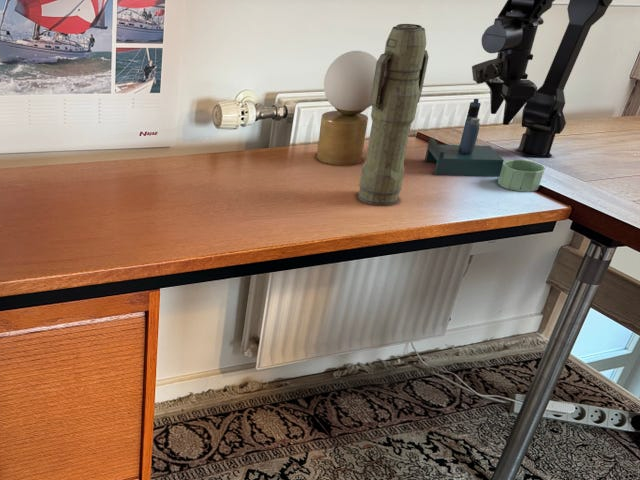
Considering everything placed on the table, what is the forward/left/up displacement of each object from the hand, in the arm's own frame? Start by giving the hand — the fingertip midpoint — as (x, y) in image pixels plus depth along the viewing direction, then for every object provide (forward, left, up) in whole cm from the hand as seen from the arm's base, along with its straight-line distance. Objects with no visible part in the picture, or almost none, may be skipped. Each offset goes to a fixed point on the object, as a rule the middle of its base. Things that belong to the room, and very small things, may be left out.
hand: (499, 119), depth 164 cm
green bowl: (-4, +11, -12) cm, 17 cm away
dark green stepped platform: (+6, 0, -12) cm, 13 cm away
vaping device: (+6, 0, -8) cm, 10 cm away
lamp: (+34, -7, -12) cm, 37 cm away
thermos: (+30, +22, -12) cm, 39 cm away
